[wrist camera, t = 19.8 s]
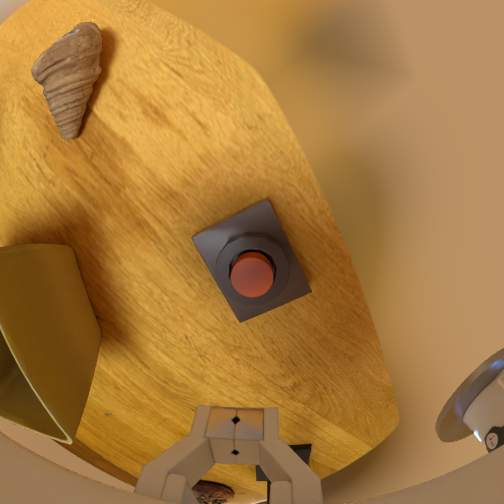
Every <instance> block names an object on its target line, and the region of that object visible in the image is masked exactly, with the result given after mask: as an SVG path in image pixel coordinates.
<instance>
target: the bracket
mask: <svg viewBox="0 0 504 504" xmlns="http://www.w3.org/2000/svg"><path fill="white" fill-rule="evenodd" d="M289 447H290V448H291V449H292V450H293V451H294V452H295V453H296V454H297V455H298V456H299V457H300V458H301V459H302V460H303V461H304V462H305V463H306V464H307V465H308V461H309V457H310V453H311V444H307V445H292V446H289ZM256 480H257V481H267V504H269V500H270V485H271V484H272V483H271V481H270V480H269V479H268V477H267V476H266V475H265V473H264V472H263V470H262V469H261V467H260V466H259V465H256Z"/></svg>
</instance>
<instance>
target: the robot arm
mask: <svg viewBox="0 0 504 504" xmlns="http://www.w3.org/2000/svg"><path fill="white" fill-rule="evenodd" d="M463 422H464V423H465V424H466V425H468V427H469V429H470V430H473V431H474V434H475V435H476V436H477V438H478V439H479V440H480V441H482V442H483V443H484V444H485V445H486V447H487V451H488V452H489V453H488V454H486V455H485V456H483V457H481V458H479V459H477V460H475V461H473V462H471V463H469V464H467V465H465V466H463V467H461V468H458V469H456V470H454V471H452V472H450V473H447V474H445V475H442V476H440V477H438V478H435V479H432V480H430V481H427V482H424V483H421V484H419V485H416V486H413V487H410V488H406V489H403V490H400V491H396V492H393V493H389V494H386V495H382V496H378V497H374V498H369V499H365V500H360V501H355V502H350V503H344V504H504V369H503V370H502V371H501V372H500V373H499V374H498V375H497V377H496V378H495V379H494V380H493V381H492V382H491V383H490V384H489V385H488V386H487V387H486V388H485V389H484V390H483V391H482V392H481V393H480V394H479V395H478V396H477V397H476V398H475V399H474V401H473V402H472V403H471V404H470V406H469V407H468V409H467V411H466V412H465V415H464V418H463ZM215 463H223V464H245V465H259V466H260V467H261V469H262V470H263V472H264V473H265V475H266V476H267V477H268V479H269V480H270V481H271V483H272V484H271V485H270V500H269V504H323V497H322V489H321V482H320V477H319V476H318V475H317V474H316V473H315V472H314V471H313V470H312V469H311V468H310V467H309V466H308V465H307V464H306V463H305V462H304V461H303V460H302V459H301V458H300V457H299V456H298V455H297V454H296V453H295V452H294V451H293V450H292V449H291V448H290V447H289V446H288V445H287V443H286V442H285V441H284V440H279V419H278V408H277V407H276V408H232V407H218V406H205V405H199V406H198V407H197V409H196V413H195V417H194V421H193V424H192V428H191V432H190V435H189V436H185V437H183V438H182V439H181V440H179V441H178V442H177V443H175V444H174V445H173V446H171V447H170V448H169V449H167V450H166V451H165V452H163V453H162V454H161V455H159V456H158V457H156V458H155V459H154V460H152V461H151V462H149V463H148V464H146V465H145V466H143V468H142V471H141V474H140V477H139V479H138V482H137V485H136V487H135V490H134V493H133V492H129V491H126V490H123V489H119V488H116V487H113V486H110V485H107V484H104V483H101V482H99V481H96V480H93V479H90V478H88V477H86V476H83V475H80V474H78V473H76V472H73V471H71V470H69V469H67V468H64V467H62V466H60V465H58V464H56V463H54V462H52V461H50V460H47V459H46V458H44V457H42V456H40V455H38V454H36V453H35V452H33V451H31V450H29V449H27V448H25V447H24V446H22V445H20V444H19V443H17V442H16V441H14V440H12V439H11V438H9V437H8V436H6V435H5V434H3V433H1V432H0V504H198V501H197V499H196V497H195V495H194V493H193V491H192V489H191V488H192V487H193V486H194V485H195V484H196V483H197V482H198V481H199V480H200V479H201V478H202V477H203V476H204V475H205V474H206V473H207V472H208V471H209V470H210V469H211V468H212V467H213V466H214V465H215Z"/></svg>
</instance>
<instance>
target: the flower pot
mask: <svg viewBox="0 0 504 504" xmlns="http://www.w3.org/2000/svg"><path fill="white" fill-rule="evenodd" d="M101 333H102V332H101V328H100V326H99V324H98V321H97V319H96V316H95V314H94V311H93V308H92V306H91V303H90V300H89V297H88V295H87V292H86V289H85V286H84V283H83V280H82V277H81V273H80V270H79V267H78V264H77V260H76V257H75V253H74V251H73V249H72V248H71V247H70V246H66V245H59V244H45V243H36V244H21V245H12V246H5V247H0V418H2V419H4V420H6V421H9V422H11V423H13V424H15V425H18V426H20V427H22V428H25V429H27V430H30V431H32V432H35V433H37V434H40V435H43V436H46V437H49V438H52V439H55V440H58V441H61V442H64V443H68V444H72V443H73V440H74V438H75V435H76V432H77V429H78V426H79V424H80V421H81V418H82V414H83V411H84V408H85V405H86V402H87V398H88V395H89V391H90V387H91V384H92V380H93V376H94V371H95V367H96V362H97V357H98V352H99V347H100V341H101Z"/></svg>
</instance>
